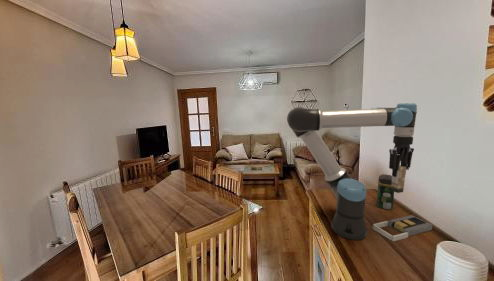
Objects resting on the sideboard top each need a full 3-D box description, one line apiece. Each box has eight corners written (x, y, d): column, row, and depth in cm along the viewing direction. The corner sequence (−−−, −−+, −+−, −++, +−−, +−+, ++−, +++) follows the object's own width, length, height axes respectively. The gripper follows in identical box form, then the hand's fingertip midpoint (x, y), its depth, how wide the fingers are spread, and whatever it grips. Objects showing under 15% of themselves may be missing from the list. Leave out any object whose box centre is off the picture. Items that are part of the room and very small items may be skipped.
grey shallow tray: (406, 237, 89) (407, 231, 89) (387, 226, 98) (387, 220, 97) (431, 230, 94) (432, 224, 93) (411, 220, 102) (411, 215, 102)
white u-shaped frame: (392, 242, 86) (393, 237, 86) (372, 229, 96) (372, 224, 95) (407, 238, 89) (408, 233, 88) (386, 225, 98) (386, 221, 98)
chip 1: (402, 232, 92) (403, 226, 91) (394, 228, 96) (394, 222, 95) (407, 231, 93) (408, 225, 92) (398, 226, 97) (399, 221, 96)
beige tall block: (397, 193, 99) (400, 167, 97) (390, 190, 102) (393, 165, 100) (403, 192, 100) (406, 166, 98) (396, 189, 103) (398, 164, 101)
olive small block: (410, 230, 93) (411, 224, 93) (401, 226, 97) (402, 220, 97) (415, 229, 94) (415, 223, 94) (406, 224, 98) (406, 219, 98)
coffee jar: (375, 201, 123) (378, 172, 120) (391, 204, 120) (394, 174, 117) (376, 208, 115) (379, 177, 112) (393, 211, 111) (397, 179, 108)
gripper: (398, 137, 91) (392, 186, 95) (424, 135, 96) (418, 182, 99) (382, 135, 98) (378, 181, 102) (407, 133, 103) (402, 177, 106)
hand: (397, 181), depth 101 cm, fingers closed on beige tall block, 4 cm apart
